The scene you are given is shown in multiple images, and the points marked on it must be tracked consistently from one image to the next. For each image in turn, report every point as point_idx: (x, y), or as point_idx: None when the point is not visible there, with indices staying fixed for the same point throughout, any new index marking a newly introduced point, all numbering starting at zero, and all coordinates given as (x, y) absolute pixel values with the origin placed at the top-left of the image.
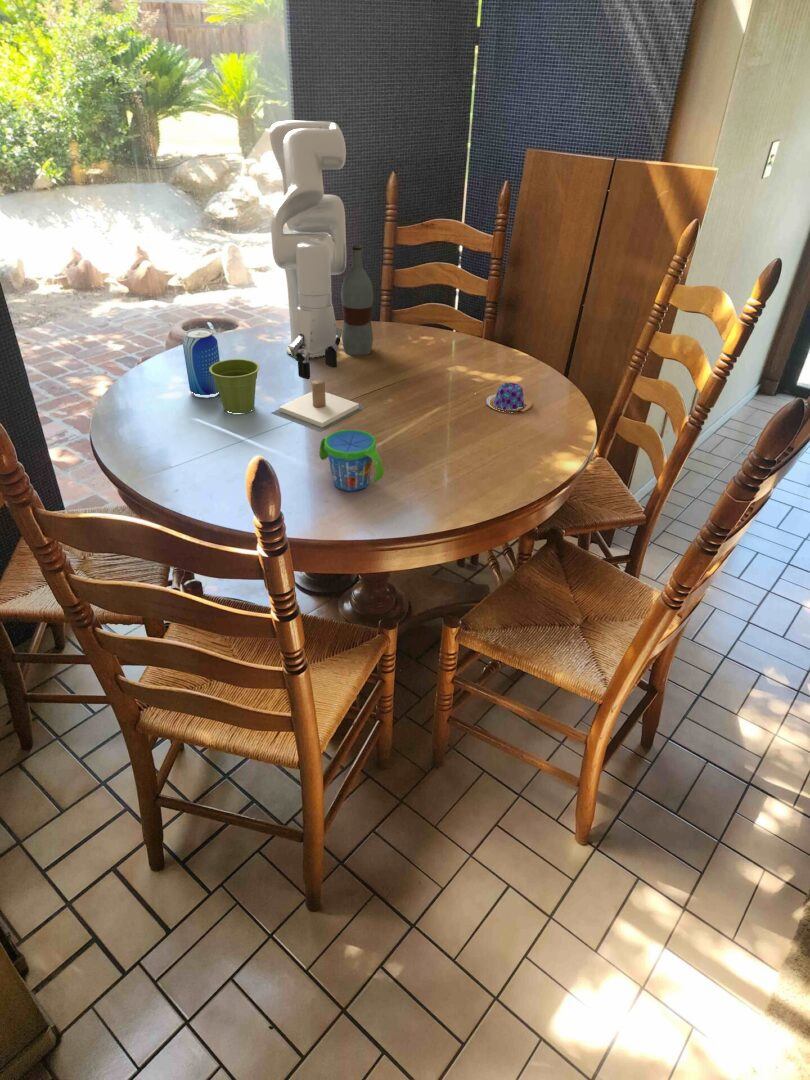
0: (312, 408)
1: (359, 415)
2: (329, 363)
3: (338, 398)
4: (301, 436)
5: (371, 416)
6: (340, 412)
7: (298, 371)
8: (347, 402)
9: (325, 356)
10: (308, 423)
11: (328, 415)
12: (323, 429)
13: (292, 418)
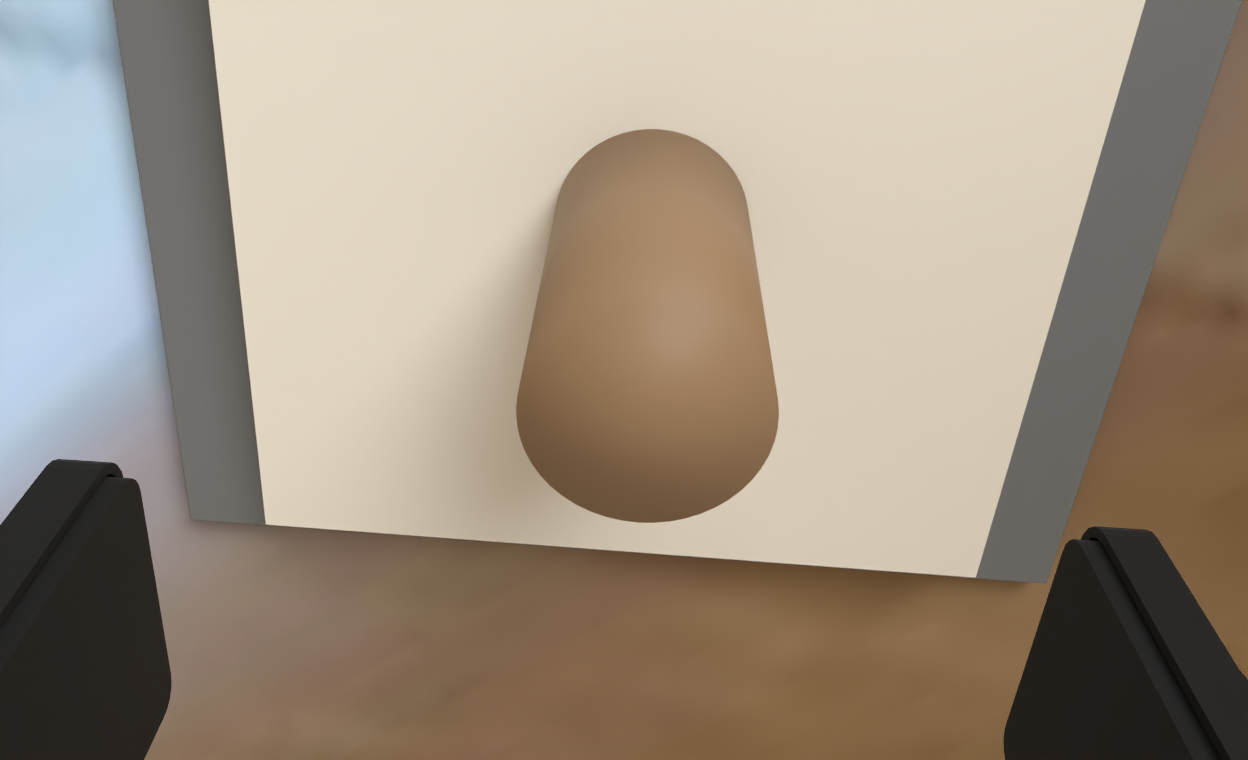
0: (500, 208)
1: (837, 582)
2: (1057, 682)
3: (1003, 308)
4: (5, 385)
5: (881, 675)
6: (630, 541)
7: (3, 527)
8: (938, 465)
9: (1160, 699)
10: (238, 317)
11: (469, 481)
12: (255, 522)
13: (183, 59)
